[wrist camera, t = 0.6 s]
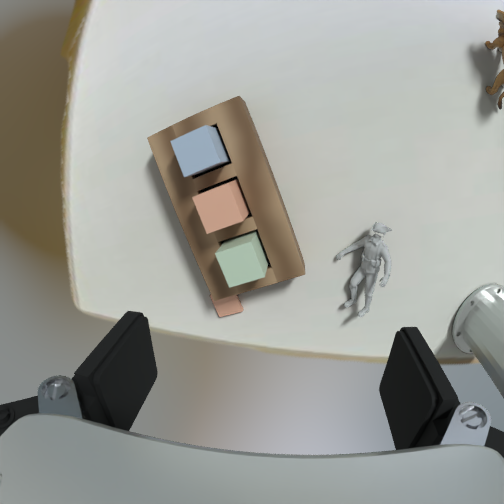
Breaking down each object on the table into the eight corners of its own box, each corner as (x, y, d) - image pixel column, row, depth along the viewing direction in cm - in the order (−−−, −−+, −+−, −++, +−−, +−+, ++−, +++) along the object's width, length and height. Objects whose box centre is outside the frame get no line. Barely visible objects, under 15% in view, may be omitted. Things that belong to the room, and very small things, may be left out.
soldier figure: (327, 295, 42) (336, 220, 35) (348, 279, 45) (360, 208, 38) (369, 325, 37) (391, 250, 30) (389, 307, 40) (411, 234, 32)
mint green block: (257, 229, 38) (251, 241, 33) (269, 260, 39) (264, 277, 34) (225, 239, 39) (214, 253, 33) (238, 270, 40) (229, 287, 34)
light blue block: (218, 128, 35) (205, 124, 29) (231, 160, 36) (220, 162, 30) (187, 142, 36) (170, 141, 30) (199, 173, 37) (184, 177, 31)
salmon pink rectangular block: (238, 178, 36) (228, 182, 31) (250, 211, 37) (243, 221, 32) (206, 191, 37) (192, 197, 32) (218, 222, 38) (206, 234, 33)
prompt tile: (233, 287, 43) (233, 288, 42) (243, 309, 44) (242, 311, 43) (210, 293, 44) (209, 295, 43) (220, 315, 44) (219, 317, 44)
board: (244, 101, 35) (239, 95, 31) (304, 262, 40) (305, 274, 37) (160, 138, 38) (147, 137, 34) (221, 288, 43) (214, 300, 39)
